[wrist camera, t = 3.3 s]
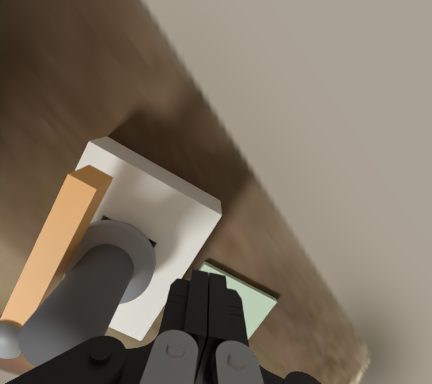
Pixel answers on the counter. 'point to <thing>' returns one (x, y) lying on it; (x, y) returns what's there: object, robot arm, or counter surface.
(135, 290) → the plug
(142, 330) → the socket block
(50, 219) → the tan piece
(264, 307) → the pad
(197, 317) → the robot arm
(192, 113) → the counter surface
